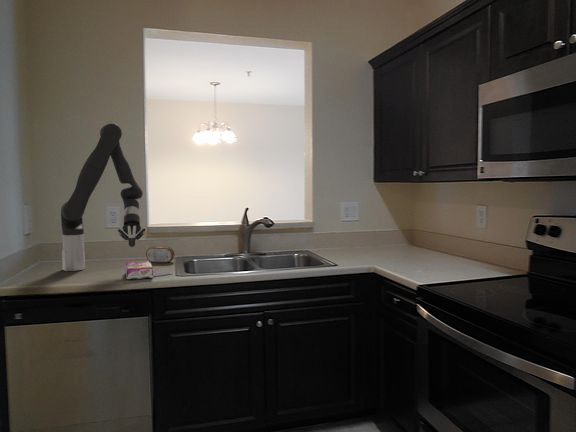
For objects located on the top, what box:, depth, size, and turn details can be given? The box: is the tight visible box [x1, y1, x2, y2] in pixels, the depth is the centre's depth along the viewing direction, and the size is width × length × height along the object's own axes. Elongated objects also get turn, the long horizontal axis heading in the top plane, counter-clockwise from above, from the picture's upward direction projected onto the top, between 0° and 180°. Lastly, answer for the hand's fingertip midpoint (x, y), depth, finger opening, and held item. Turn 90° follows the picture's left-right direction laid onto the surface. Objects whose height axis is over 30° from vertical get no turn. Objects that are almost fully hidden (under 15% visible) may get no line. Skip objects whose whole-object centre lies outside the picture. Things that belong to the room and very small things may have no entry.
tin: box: [145, 245, 175, 264], centre depth 222 cm, size 15×3×8 cm, turn 84°
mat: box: [134, 269, 173, 280], centre depth 191 cm, size 17×9×1 cm, turn 130°
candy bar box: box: [125, 260, 154, 280], centre depth 189 cm, size 11×5×16 cm
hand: (132, 245), depth 195 cm, fingers closed
